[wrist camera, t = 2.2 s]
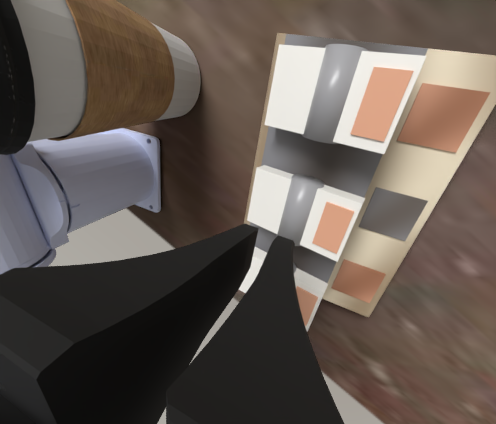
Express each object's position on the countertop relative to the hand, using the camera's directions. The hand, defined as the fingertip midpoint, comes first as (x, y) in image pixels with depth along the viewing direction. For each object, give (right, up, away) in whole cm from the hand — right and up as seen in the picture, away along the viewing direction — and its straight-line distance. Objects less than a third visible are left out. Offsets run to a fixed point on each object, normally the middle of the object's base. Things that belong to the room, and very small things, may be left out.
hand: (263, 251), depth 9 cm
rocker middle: (+2, +2, +4) cm, 5 cm away
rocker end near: (+3, +7, +1) cm, 8 cm away
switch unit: (+6, +3, +8) cm, 11 cm away
